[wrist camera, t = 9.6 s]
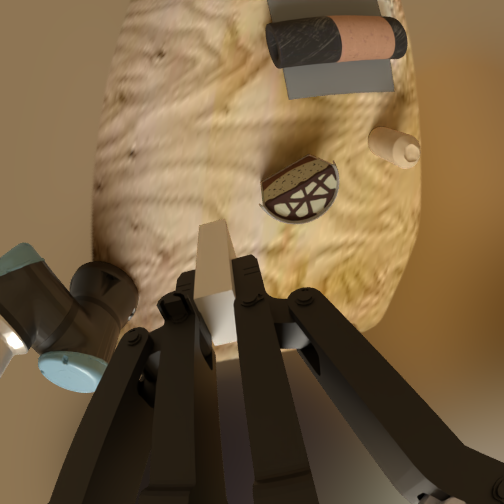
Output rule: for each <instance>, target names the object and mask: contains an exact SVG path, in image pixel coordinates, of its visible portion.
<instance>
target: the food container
mask: <svg viewBox="0 0 504 504" xmlns="http://www.w3.org/2000/svg"><path fill="white" fill-rule="evenodd" d="M333 163H334V164H331V163H329V162H327V161H324V160H322V159H320V158H317V157H315V156H313V155H310V154H308V155H306V156H305V157H303V158H301V159H299V160H298V161H296V162H294V163H292V164H291V165H289V166H287V167H286V168H284V169H282V170H280V171H279V172H277V173H275V174H274V175H272V176H270V177H269V178H267V179H265V180H263V181H262V182H260V183H261V192H262V201H263V206H262V205H261V204H259V206H260V207H261V208H262V209H263V210H264V211H265V212H266V213H267V214H268V215H269V216H271V217H272V218H274V219H276V220H278V221H280V222H283V223H288V224H303V223H308V222H311V221H313V220H315V219H317V218H319V217H320V216H322V215H323V214H324V213H325V212H327V211H328V209H329V208H330V207H331V206H332V204H333V202H334V201H335V199H336V196H337V193H338V189H339V173H338V169H337V166H336V164H335V162H334V161H333Z"/></svg>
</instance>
